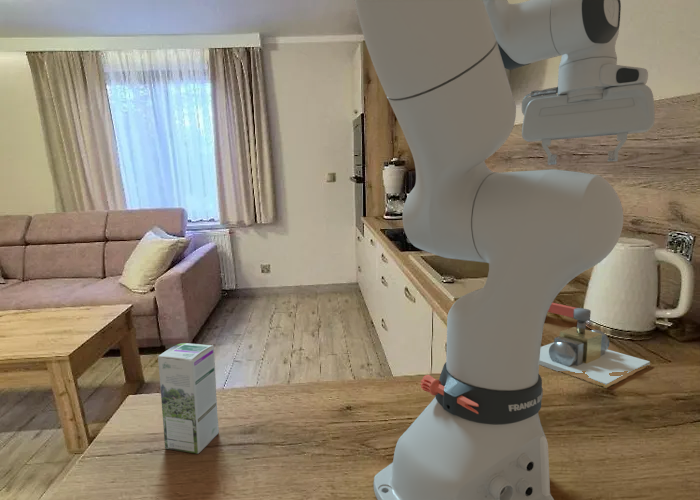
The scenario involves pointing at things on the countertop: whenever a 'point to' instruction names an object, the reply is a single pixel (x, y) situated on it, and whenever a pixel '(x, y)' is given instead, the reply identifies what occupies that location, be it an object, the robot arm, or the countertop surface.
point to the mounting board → (596, 365)
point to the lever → (570, 311)
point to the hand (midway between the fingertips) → (581, 163)
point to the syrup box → (188, 396)
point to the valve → (578, 345)
